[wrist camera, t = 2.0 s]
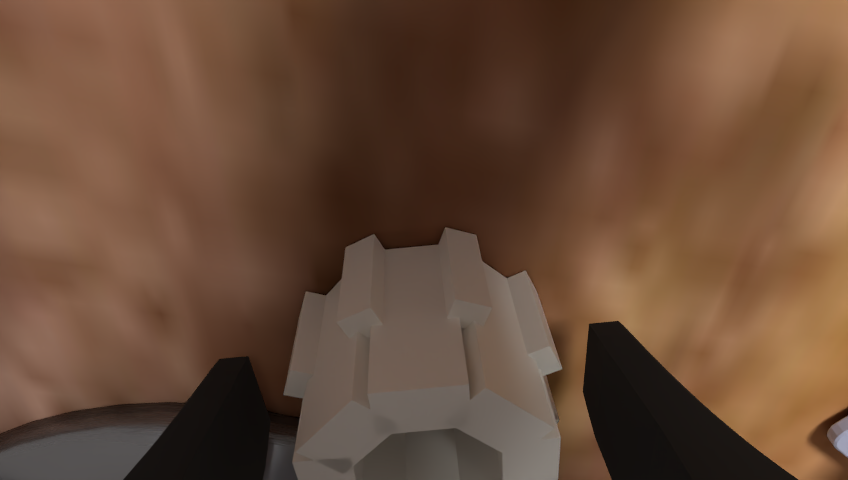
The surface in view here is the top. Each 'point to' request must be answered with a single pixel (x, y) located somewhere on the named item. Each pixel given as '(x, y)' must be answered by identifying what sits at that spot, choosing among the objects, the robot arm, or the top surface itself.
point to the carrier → (114, 443)
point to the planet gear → (424, 370)
